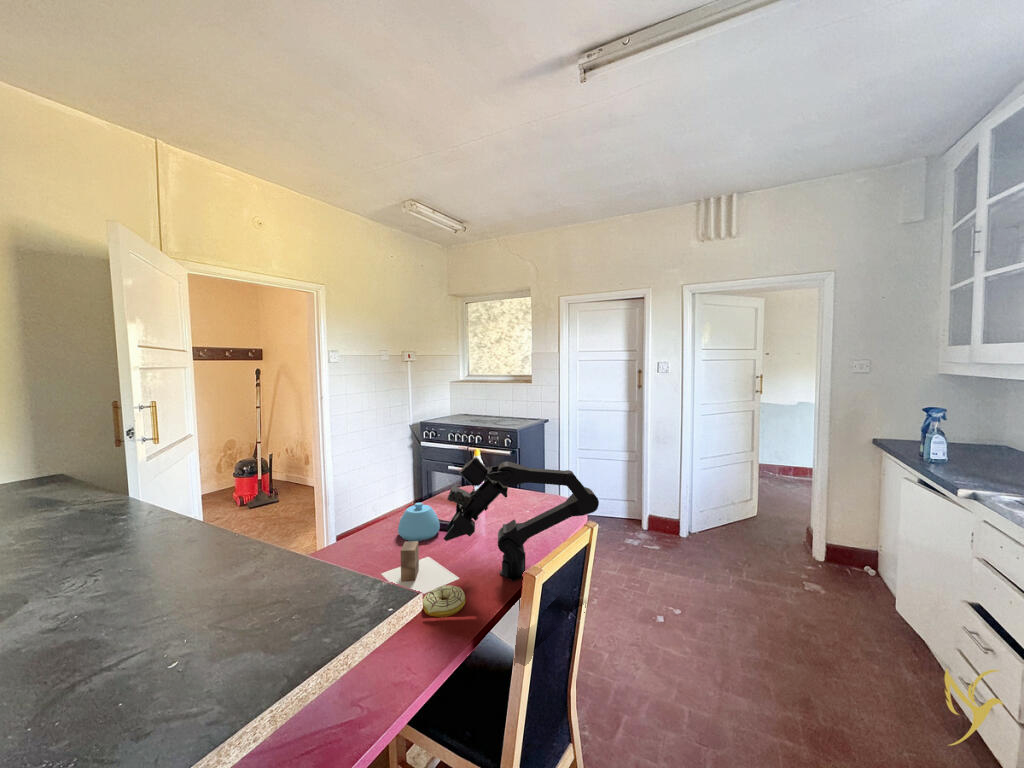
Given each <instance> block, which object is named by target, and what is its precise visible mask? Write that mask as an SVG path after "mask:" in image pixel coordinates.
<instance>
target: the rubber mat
mask: <svg viewBox="0 0 1024 768" xmlns="http://www.w3.org/2000/svg"><path fill="white" fill-rule="evenodd" d="M380 575H381V576H382V577H383V578H385V580H387V581H388V582H389V583H390V582H393V583H395V584H399V585H401V586H404V587H407V588H410V589H413V590H416V591H420V592H422V593H423V595H426V594H428V593H429V592H430V591H432V590H434V589H436V588H438V587H441V586H446V585H448V584H450V583H451V584H452V583H453V582H455V581H457V580H460V579H461V578H460V577H458V576H457V575H456V574H454V573H452V571H450V570H448V569H447V568H446V567H444V566H443V565H441V564H440V563H439V562H437V561H436V560H434V559H433V558H432V557H430V556H426V557H423V558H421V559H420V558H419V572H418V575H417V578H416V581H403V582H401V566H399V567H396V568H392V569H390V570H387V571H385V572H382V573H380Z"/></svg>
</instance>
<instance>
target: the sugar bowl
mask: <svg viewBox="0 0 1024 768" xmlns="http://www.w3.org/2000/svg"><path fill="white" fill-rule="evenodd" d="M434 510H435V509H433V508H432V507H431V506H430V505H429V504H428V505H427V504H424V503H423V502H416V503H414V505H411V506H409V507H407V508H406V510H404V513H402V516H401V518H400V519H399V523H398V528H397V529H398V530H397V533H398V535H399V536H400V537H401V538H402V539H403V540H405V541H407V540H408V541H418V542H422V540H424V541H427V540H430V539H432V538H434V537H435V536H436V535H437V534H438V533H439V531H440V528H441V526H440V525H441V524H440V520H439V517H438V515H437V514H436V512H435V511H434Z"/></svg>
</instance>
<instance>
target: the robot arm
mask: <svg viewBox="0 0 1024 768" xmlns="http://www.w3.org/2000/svg"><path fill="white" fill-rule="evenodd" d="M458 474H459V475H460V476H461V477H462V478H464V479H465V480H466V481H467V482H468V483H469V485H471V487H474V486H475V487H478V488H477V489H476V490H475V489H474V490H472V491H470V492H469V491H466V490H465V489H462V488H460V487H459V486H456V485H452V486H451V488H450V491H449V493H448V495H447V500H448V501H449V502H452V503H455V504H456V506H455V514H454V515H453V517H452V518H451V520H450V522H449V523H448V524H447V526H446V530H447V533H446V534H445V535H444V537H443V540H444V541H445V542H448V541H451V540H453V539H456V538H459V537H462V536H465V535H467V536H468V537H471V536H472V535H473V534H474V533H475V532H476V522H477V520H478V519H479V515H481V514H482V513H484V511H485V512H486V511H487V510H488V509H489V506H490V505H491V504H492V502H494V501H495V500H496V498H498V497H499V495H502V496H503V497H504V498H508V489H509V488H508V487H509V486H519V485H522V484H528V483H529V484H541V485H553V486H566V487H567V488H568V489H569V490H570V492H571V495H570V496H569V497H568V498H567V499H566V500H565V501H564V502H561V503H560V504H558V505H556V506H554V507H552V508H550V509H548V510H546V511H544V512H542V513H540V514H538V515H536V516H534V517H531V518H530V519H528V520H525V521H524V522H519V523H517V522H516V519H512V520H511V521H509V522H508V523H504V524H502V527H501V528H499V530H498V532H497V547H498V550H499V551H500V552H501V553H503V554H502V561H501V570H500V571H499V575H501V576H503V577H504V578H506V579H508V580H509V581H511V582H516V581H519V580H520V579H523V578H522V574H523V572H524V571H525V570H526V552H525V547H524V546H525V545H524V544H525V543H526V542H527V541H528V540H529V539H530V538H532V537H534V536H536V535H538V534H540V533H542V532H544V531H545V530H548V529H550V528H552V527H554V526H555V525H559V524H560V523H562V522H565V521H566V520H568V519H569V518H570V519H571V518H572V517H581V516H582V517H583V516H586V515H590V514H592V513H593V514H594V513H595V512H596V511H597V510H598V508H599V506H600V501H599V499H598V497H597V495H596V494H595V493H594V492H593V490H592V489H591V488H589V487H586V486H584V485H583V483H581V481H580V480H579V479H578V478H577V476H576V475H575V473H574V472H573V471H572V470H568V469H566V470H563V469H561V470H560V469H548V468H536V467H528V466H524V465H521V464H519V463H515V462H512V461H502V462H501V463H500V464H499V465H493V466H488V467H487V466H486V465H484V463H482V462H481V460H480V459H479V458H478V456H474V458H472V459H471V460H470V461H468V462H467V463H465V464H464V466H463V467H462V468H461V469H460V470H459V472H458ZM475 521H476V522H475Z"/></svg>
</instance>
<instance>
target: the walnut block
mask: <svg viewBox="0 0 1024 768" xmlns="http://www.w3.org/2000/svg"><path fill="white" fill-rule="evenodd" d="M419 552H420V551H419V541H407V540H405V541H404V542H403V545H402V547H401V548H400V567H401V582H403V581H416V578H417V575H418V572H419V560H420V556H419V554H420V553H419Z"/></svg>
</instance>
